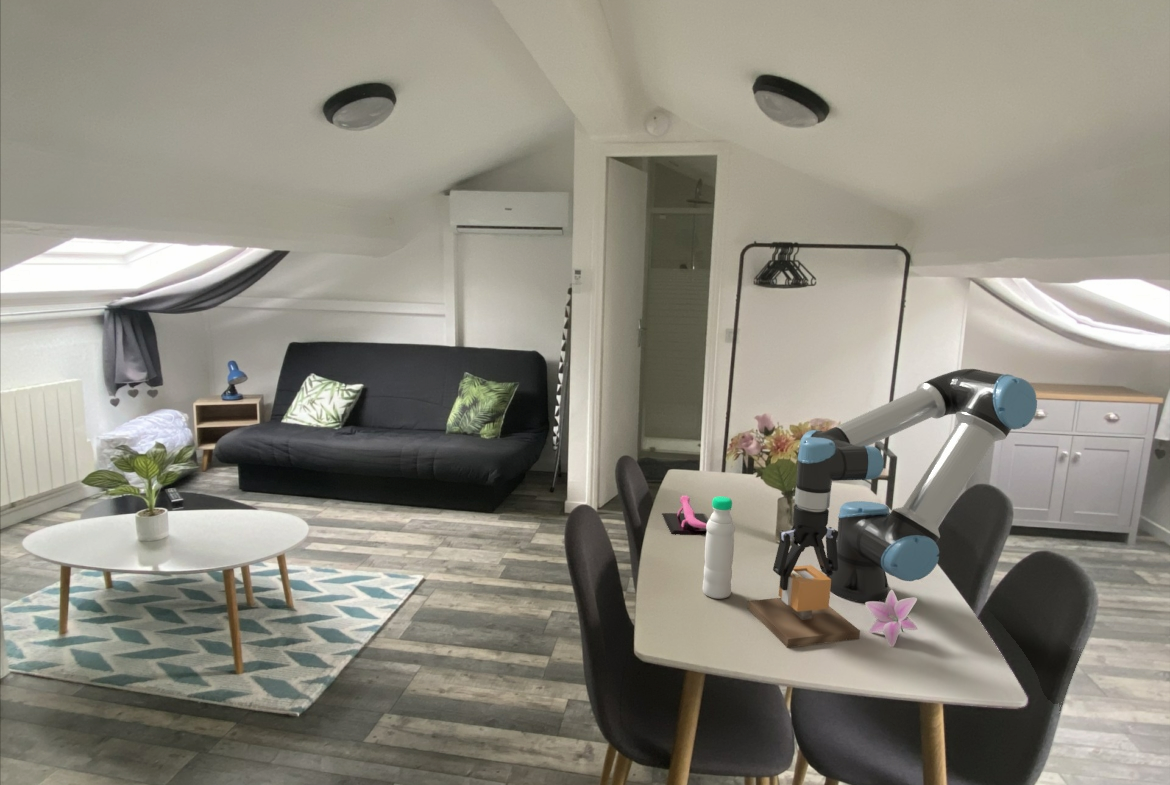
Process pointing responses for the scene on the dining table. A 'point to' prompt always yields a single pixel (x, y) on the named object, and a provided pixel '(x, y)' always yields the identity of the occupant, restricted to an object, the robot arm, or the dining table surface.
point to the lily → (892, 616)
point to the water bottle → (719, 550)
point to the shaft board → (802, 622)
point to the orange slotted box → (809, 590)
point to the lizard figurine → (686, 520)
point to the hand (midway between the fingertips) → (802, 600)
